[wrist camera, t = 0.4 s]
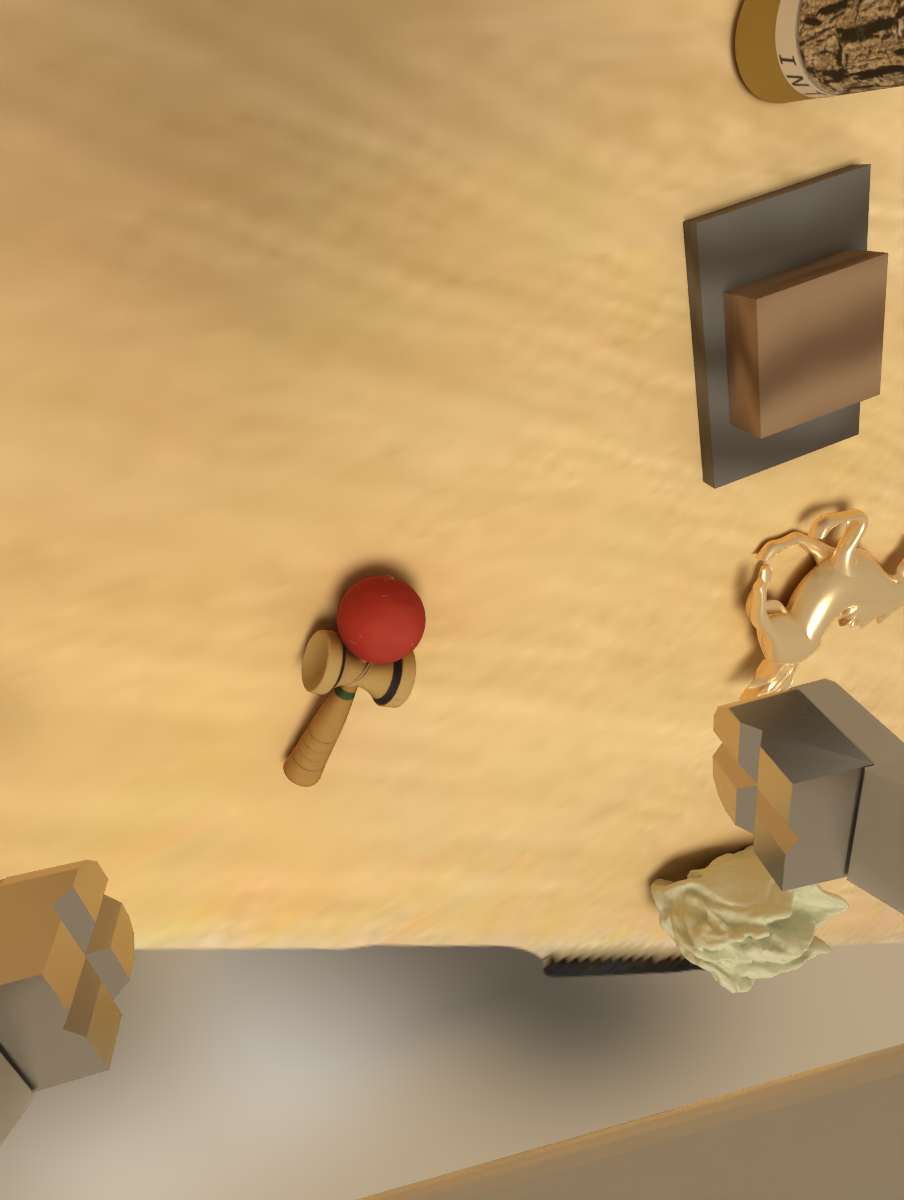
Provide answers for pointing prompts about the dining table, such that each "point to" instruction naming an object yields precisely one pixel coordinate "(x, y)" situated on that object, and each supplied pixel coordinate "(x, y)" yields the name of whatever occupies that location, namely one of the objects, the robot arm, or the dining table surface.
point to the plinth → (750, 259)
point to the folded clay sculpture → (743, 920)
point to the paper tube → (819, 47)
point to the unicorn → (818, 598)
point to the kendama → (357, 665)
